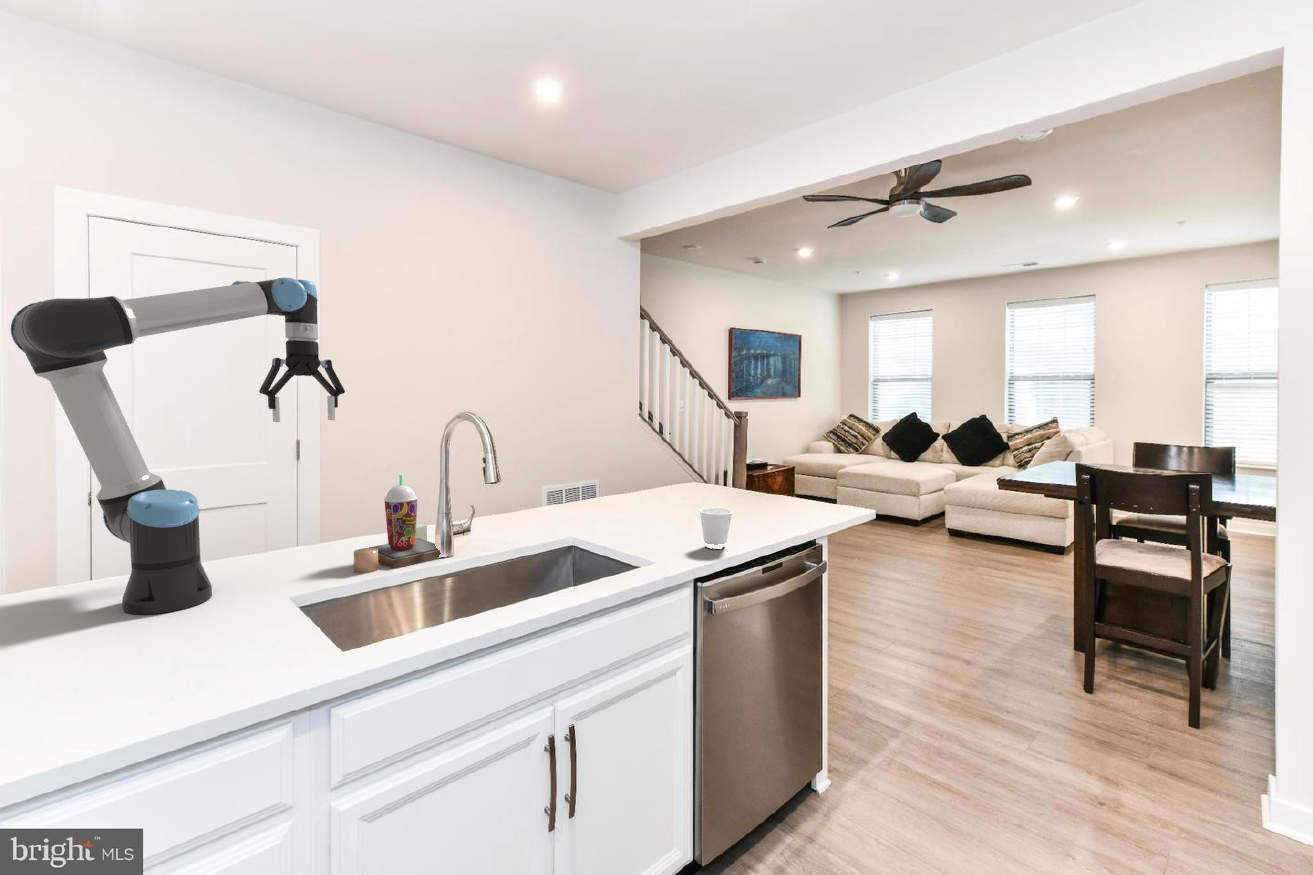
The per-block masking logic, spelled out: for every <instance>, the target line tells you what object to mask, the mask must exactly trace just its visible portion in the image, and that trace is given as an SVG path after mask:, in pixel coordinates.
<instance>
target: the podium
mask: <svg viewBox="0 0 1313 875" xmlns="http://www.w3.org/2000/svg"><path fill="white" fill-rule="evenodd" d="M435 544H436V543H434V542H431V541H429V540H427V541H426V540H423V539H420V538H416V540H415V543H414V546H413V548H411V549H409V550H403V551H395V550H392V549H391V548H390V545H389V544H388V543H385V544H379V545H375V546H369V547H368V548H376V549H378V564H381V565H383V566H386V567H388V568H391V569H393V570H395V569H398V568H403V567H407V566H412V565H416V564H421V563H426V561H427V562H431V561H436V560H438V559H437V558H438V557H439V555H440V554H441V553H440V550H438V549H437V548H436V546H435ZM435 559H436V560H435Z"/></svg>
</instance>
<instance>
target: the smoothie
mask: <svg viewBox="0 0 1313 875" xmlns="http://www.w3.org/2000/svg"><path fill="white" fill-rule="evenodd" d="M398 477H399V479H398V480H399V484H398V485H395V486H393V487H392V488H390V490H389V491H388V492H387V493H386V495H385V497H384V500H383V501H384V509H385V512H384V513H385V521H386V533H387V544H389V545H390V548H391V549H392V550H395V551H403V550H409V549H411V548H413V546H414V543H415V540H416V524H417V517H418V514H417V513H418V499H419V497H418V496H417V494H416V493H415V491H414V490H413V489H412V488H411V487H410V486H409V485H408V486H407V485H404V484H403V475H402V474H399V476H398Z"/></svg>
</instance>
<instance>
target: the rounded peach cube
mask: <svg viewBox="0 0 1313 875" xmlns="http://www.w3.org/2000/svg"><path fill="white" fill-rule="evenodd" d="M377 571H379V563H378V549H376V548H369V547H364V548H362V547H361V548H359V549H355V550H354V551H353V572H354V573H355V574H356V573H357V574H370V573H373V572H374V573H375V572H377Z"/></svg>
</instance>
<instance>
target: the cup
mask: <svg viewBox="0 0 1313 875" xmlns="http://www.w3.org/2000/svg"><path fill="white" fill-rule="evenodd" d="M698 512H699V513H700V522H701V528H702V534H703V535H702V536H703V543H704V542H705V543H707V544H714V545H718V544H725V543H726V544H727V541H728V535H729V531H730V525H731V520H732V516H733V513H734V511H733V510H731V509H728V508H724V507H704V508H701V509H699V510H698Z"/></svg>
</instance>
